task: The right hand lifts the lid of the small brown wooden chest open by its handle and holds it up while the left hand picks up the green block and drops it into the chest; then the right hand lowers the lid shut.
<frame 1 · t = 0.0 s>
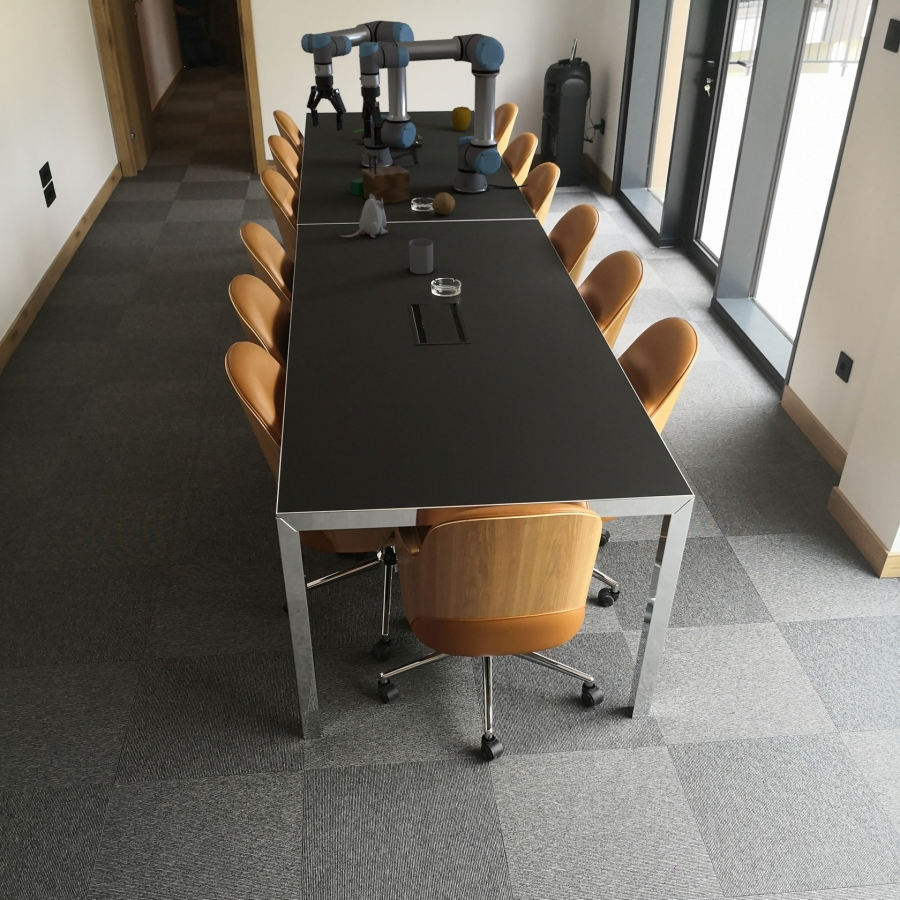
left hand: (327, 128, 372), 28 cm above the table, tool pointing down, fingers open, 13 cm apart
right hand: (372, 141, 352), 28 cm above the table, tool pointing down, fingers open, 13 cm apart
potato: (443, 213, 363), on the table
toy: (363, 238, 337), on the table
cup: (421, 270, 308), on the table
chest: (386, 199, 380), on the table
yellow bell pepper: (461, 130, 491), on the table
scepter: (380, 142, 468), on the table
block: (359, 193, 388), on the table
lid: (384, 162, 372), point 16 cm above the table, hinge at -0.1°
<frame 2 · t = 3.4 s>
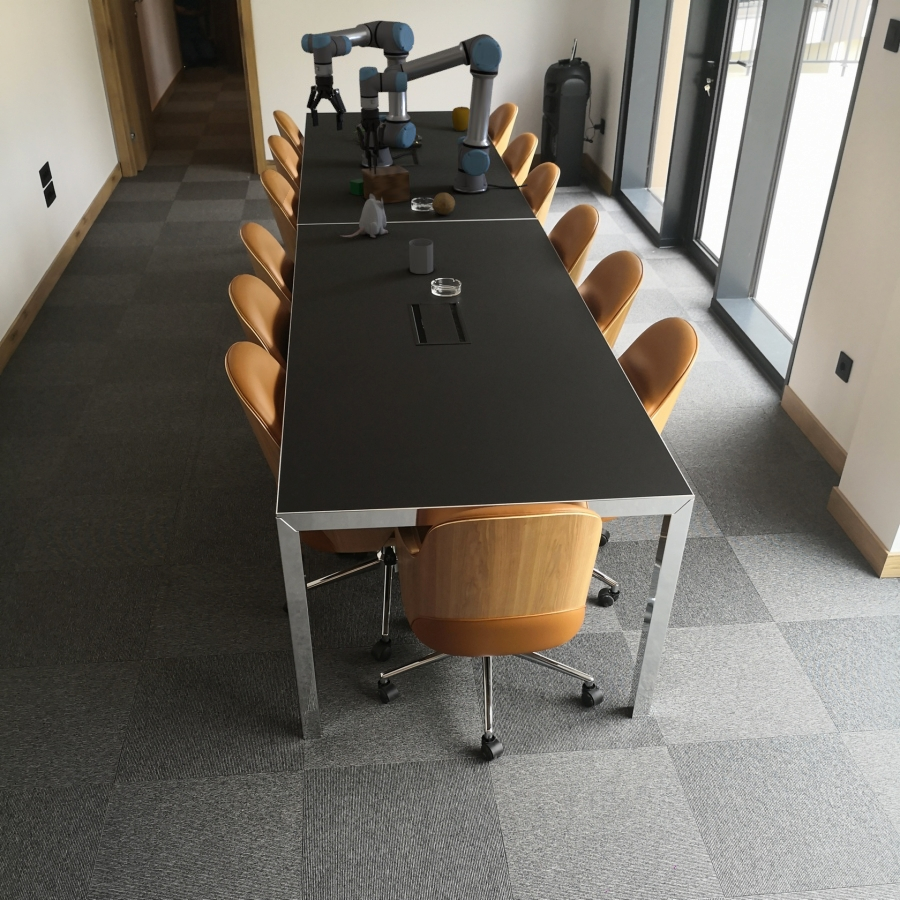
left hand: (327, 128, 372), 28 cm above the table, tool pointing down, fingers open, 13 cm apart
right hand: (372, 165, 370), 15 cm above the table, tool pointing down, fingers closed on lid, 2 cm apart
lid: (384, 162, 372), point 16 cm above the table, hinge at 0.1°, touching right hand
everything else where it was.
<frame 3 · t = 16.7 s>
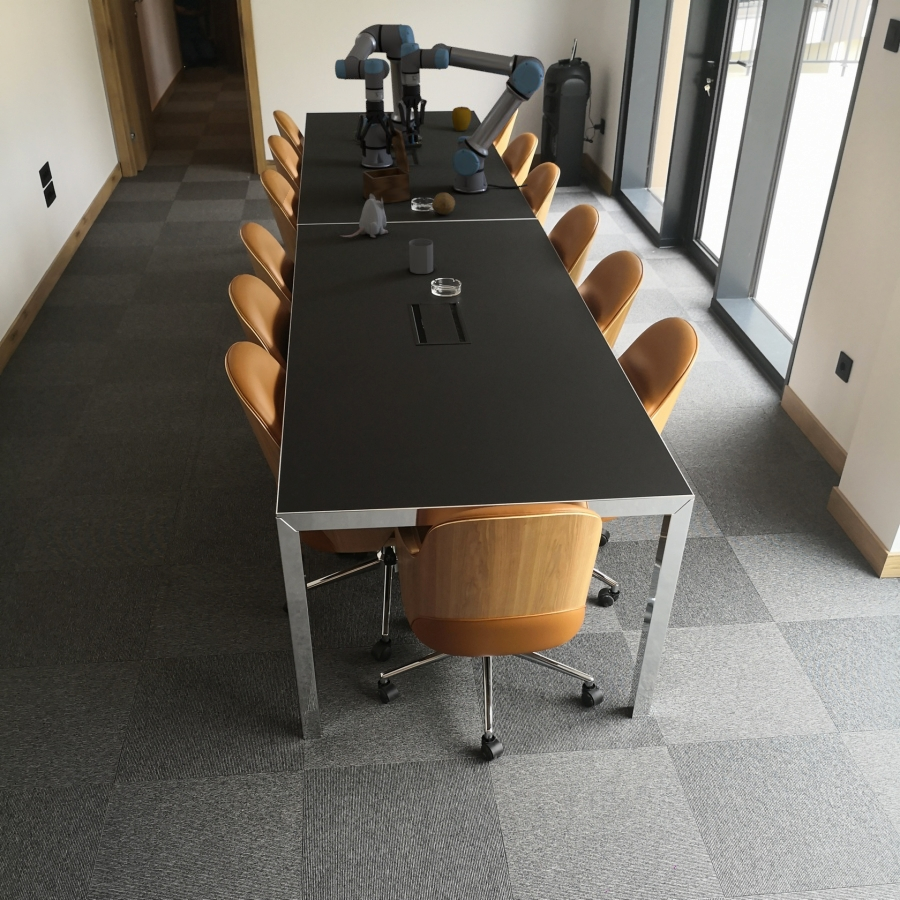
left hand: (376, 155, 369), 19 cm above the table, tool pointing down, fingers open, 10 cm apart
right hand: (413, 142, 373), 23 cm above the table, tool pointing down, fingers closed on lid, 2 cm apart
chest: (386, 198, 380), on the table, touching block
block: (379, 197, 379), point 1 cm above the table, touching chest
lid: (407, 146, 373), point 21 cm above the table, hinge at 79.3°, touching left hand, right hand
everything else where it was.
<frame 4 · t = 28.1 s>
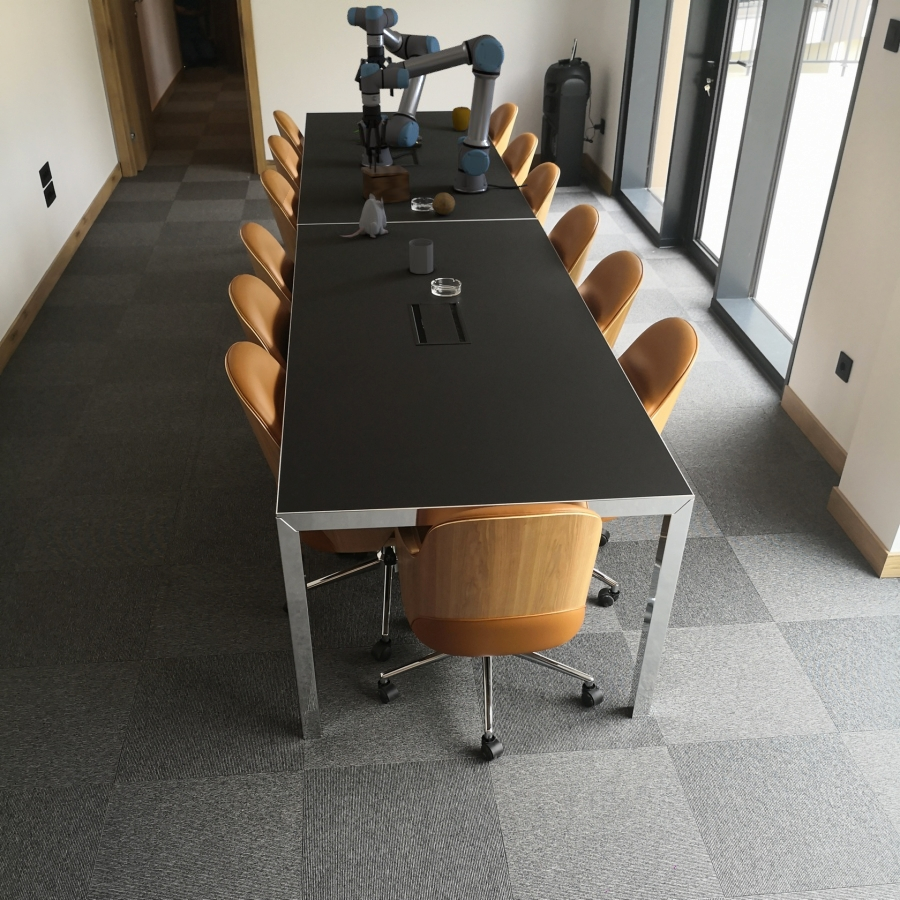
left hand: (377, 97, 389), 36 cm above the table, tool pointing down, fingers open, 13 cm apart
right hand: (373, 162, 370), 16 cm above the table, tool pointing down, fingers open, 2 cm apart
chest: (386, 198, 381), on the table, touching block
lid: (385, 161, 372), point 16 cm above the table, hinge at 2.7°, touching right hand
everything else where it was.
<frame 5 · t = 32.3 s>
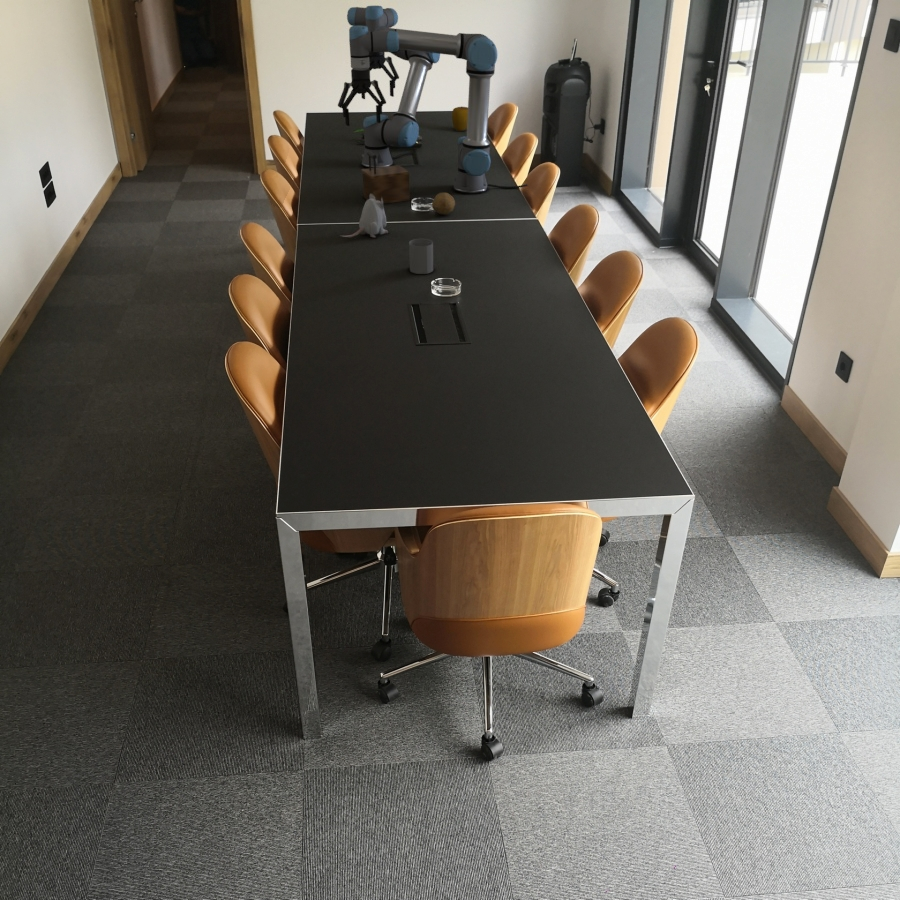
left hand: (377, 97, 389), 36 cm above the table, tool pointing down, fingers open, 13 cm apart
right hand: (363, 123, 360), 32 cm above the table, tool pointing down, fingers open, 13 cm apart
lid: (384, 162, 372), point 16 cm above the table, hinge at -0.1°
everything else where it was.
at the end: block inside the target area in the chest (3.5 cm from its centre), point 0.9 cm above the chest's base; lid at +0° (first picture: +0°); the left hand is holding nothing; the right hand is holding nothing; chest tilted 0°; chest moved 0.2 cm from its start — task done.
